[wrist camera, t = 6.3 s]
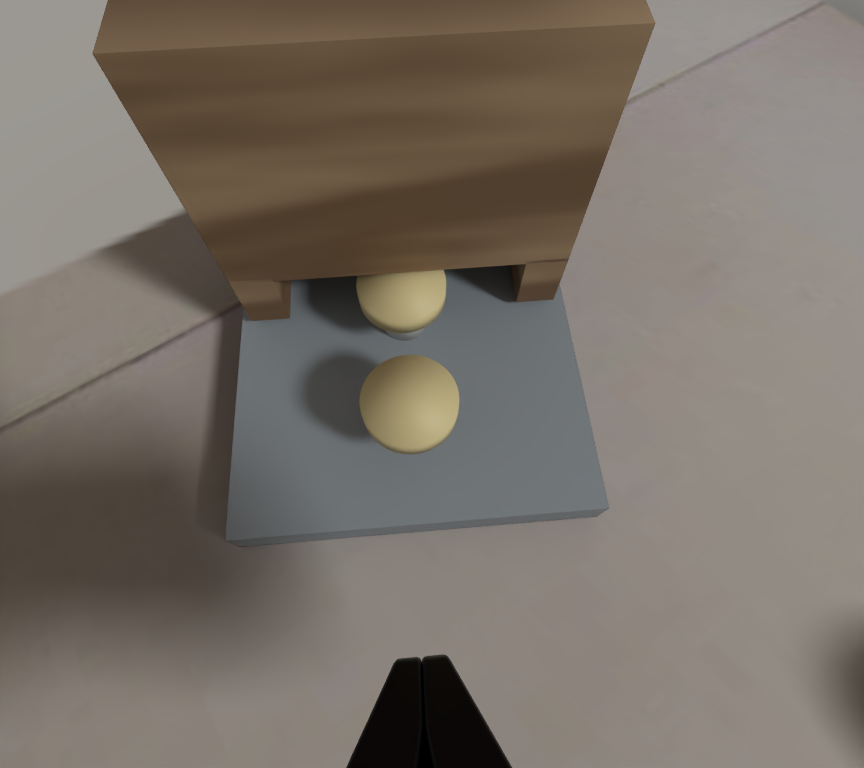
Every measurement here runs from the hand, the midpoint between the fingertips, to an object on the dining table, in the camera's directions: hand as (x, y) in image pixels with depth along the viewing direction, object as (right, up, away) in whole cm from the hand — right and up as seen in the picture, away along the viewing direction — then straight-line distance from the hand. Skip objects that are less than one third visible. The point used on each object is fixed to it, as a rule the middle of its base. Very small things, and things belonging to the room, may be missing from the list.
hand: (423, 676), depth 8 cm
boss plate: (-1, +5, +13) cm, 14 cm away
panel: (-1, +9, +13) cm, 16 cm away
